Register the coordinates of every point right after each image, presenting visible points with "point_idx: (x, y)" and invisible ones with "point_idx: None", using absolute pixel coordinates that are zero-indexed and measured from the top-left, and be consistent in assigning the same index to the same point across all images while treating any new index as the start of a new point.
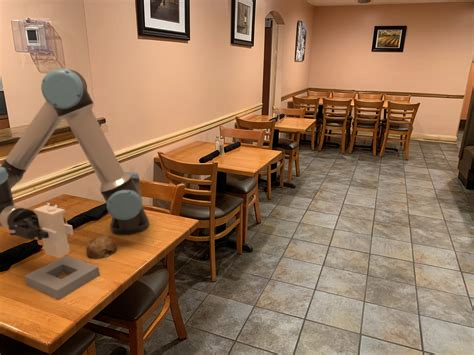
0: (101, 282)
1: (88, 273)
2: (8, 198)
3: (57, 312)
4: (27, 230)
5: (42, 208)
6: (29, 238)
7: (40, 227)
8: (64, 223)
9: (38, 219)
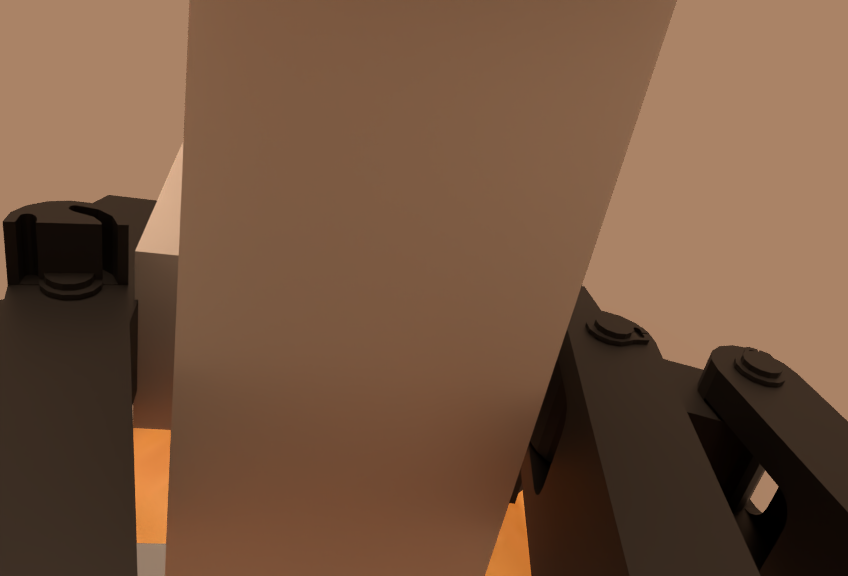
0: (142, 520)
1: (162, 550)
2: None
3: (509, 513)
4: (834, 445)
5: None
6: (747, 504)
7: (538, 376)
8: (171, 168)
9: (609, 182)
